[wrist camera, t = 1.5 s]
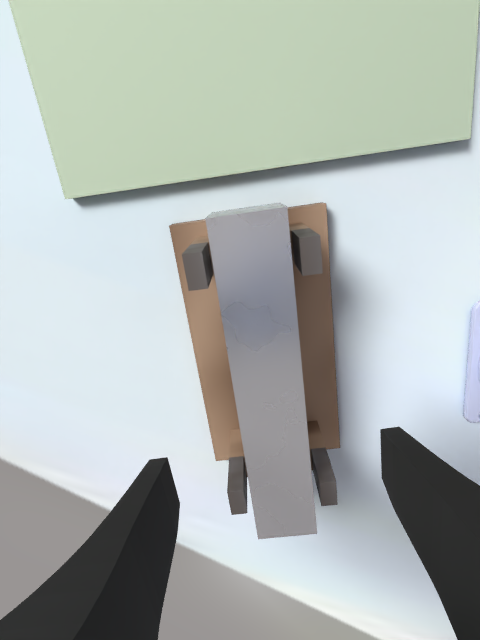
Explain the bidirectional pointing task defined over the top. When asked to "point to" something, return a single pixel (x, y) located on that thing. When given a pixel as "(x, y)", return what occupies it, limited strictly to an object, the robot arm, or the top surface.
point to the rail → (265, 362)
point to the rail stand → (313, 336)
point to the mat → (241, 83)
